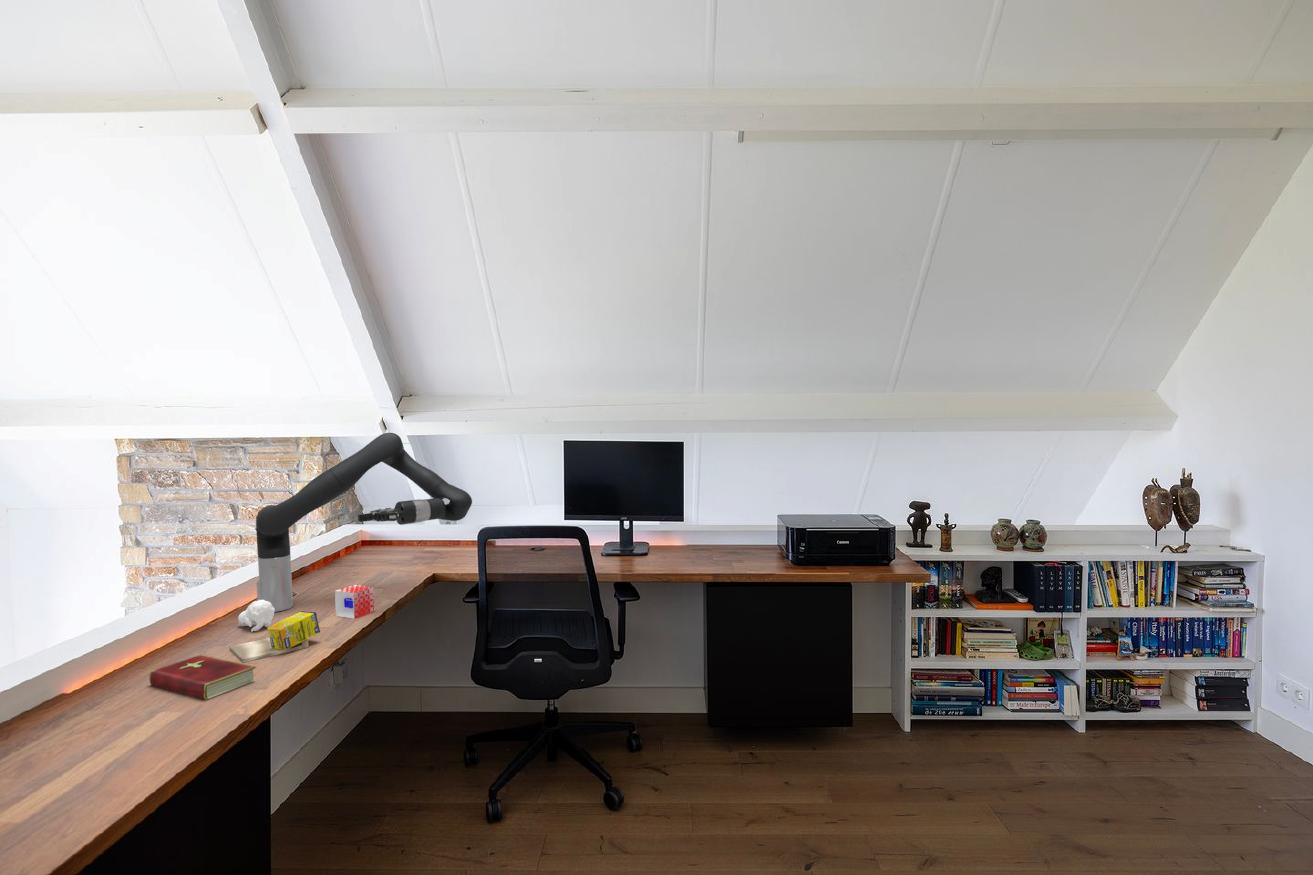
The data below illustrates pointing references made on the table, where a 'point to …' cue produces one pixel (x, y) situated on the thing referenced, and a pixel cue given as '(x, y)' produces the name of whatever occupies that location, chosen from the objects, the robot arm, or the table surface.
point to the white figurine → (257, 615)
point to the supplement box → (293, 630)
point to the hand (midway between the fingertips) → (358, 518)
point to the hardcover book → (202, 676)
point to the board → (261, 649)
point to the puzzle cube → (354, 601)
